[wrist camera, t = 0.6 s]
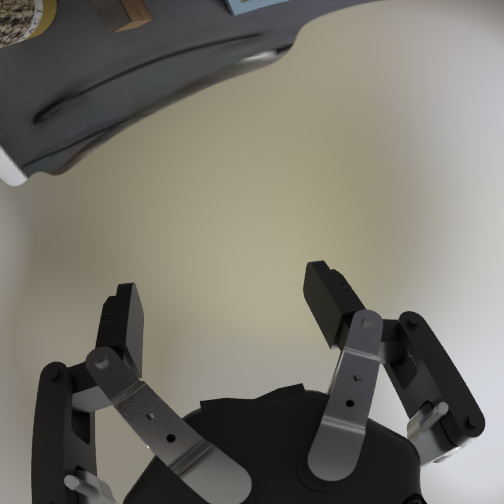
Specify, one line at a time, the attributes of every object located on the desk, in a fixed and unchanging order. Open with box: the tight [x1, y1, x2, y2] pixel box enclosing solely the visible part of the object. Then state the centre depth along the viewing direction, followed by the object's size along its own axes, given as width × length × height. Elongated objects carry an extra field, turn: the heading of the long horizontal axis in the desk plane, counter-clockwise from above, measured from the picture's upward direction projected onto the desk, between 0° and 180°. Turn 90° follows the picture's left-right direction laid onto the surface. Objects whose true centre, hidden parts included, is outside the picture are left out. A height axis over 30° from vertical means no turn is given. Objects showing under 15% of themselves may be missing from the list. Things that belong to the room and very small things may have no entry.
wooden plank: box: [91, 0, 153, 34], centre depth 19 cm, size 5×2×10 cm, turn 20°
